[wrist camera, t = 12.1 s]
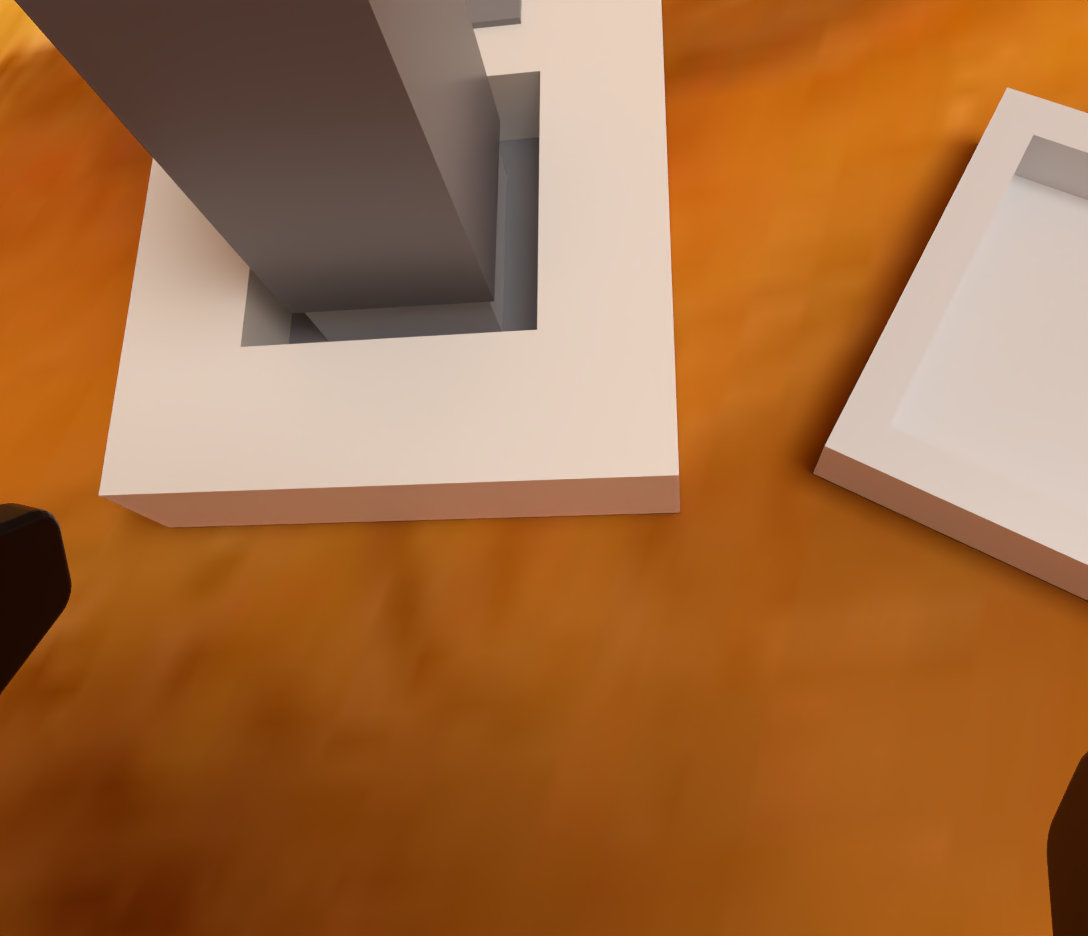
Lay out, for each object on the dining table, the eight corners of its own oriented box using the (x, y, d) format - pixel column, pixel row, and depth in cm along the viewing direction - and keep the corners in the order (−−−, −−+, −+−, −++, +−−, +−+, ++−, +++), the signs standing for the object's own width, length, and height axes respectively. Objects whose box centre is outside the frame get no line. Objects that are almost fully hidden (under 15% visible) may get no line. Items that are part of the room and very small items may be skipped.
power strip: (680, 512, 22) (678, 466, 19) (168, 527, 24) (82, 487, 20) (654, -176, 29) (650, -303, 25) (256, -123, 31) (202, -234, 27)
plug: (509, 339, 23) (314, -129, 11) (321, 348, 24) (-56, -80, 12) (514, 169, 25) (347, -403, 13) (336, 183, 26) (16, -345, 13)
